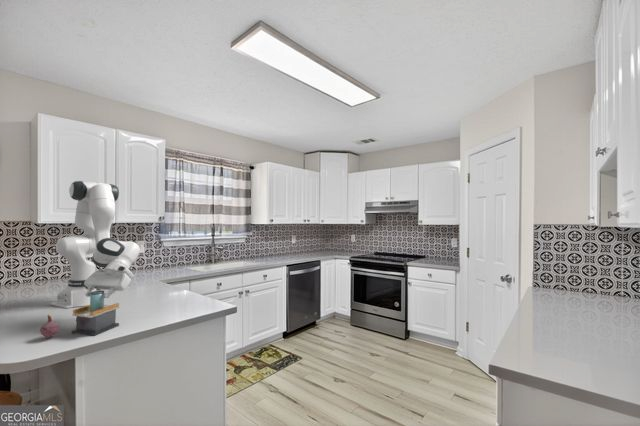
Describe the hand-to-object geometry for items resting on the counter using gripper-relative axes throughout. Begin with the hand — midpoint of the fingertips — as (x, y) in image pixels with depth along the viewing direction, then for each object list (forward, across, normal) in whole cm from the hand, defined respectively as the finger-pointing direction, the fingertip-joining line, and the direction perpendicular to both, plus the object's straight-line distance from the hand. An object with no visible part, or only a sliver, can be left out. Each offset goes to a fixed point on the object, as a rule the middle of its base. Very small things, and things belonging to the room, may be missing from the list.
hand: (96, 296), depth 133 cm
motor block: (+10, -1, +11) cm, 15 cm away
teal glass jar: (+4, 0, +5) cm, 6 cm away
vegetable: (+19, -10, +2) cm, 21 cm away
